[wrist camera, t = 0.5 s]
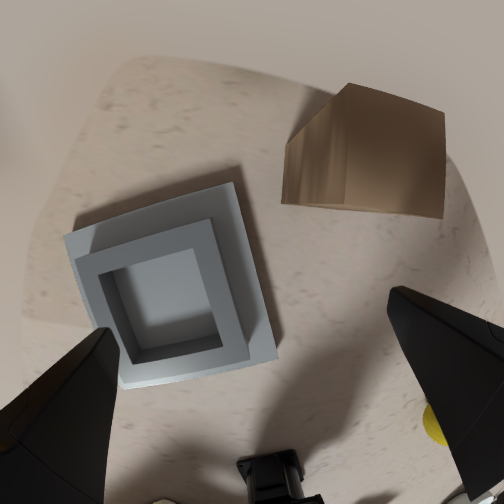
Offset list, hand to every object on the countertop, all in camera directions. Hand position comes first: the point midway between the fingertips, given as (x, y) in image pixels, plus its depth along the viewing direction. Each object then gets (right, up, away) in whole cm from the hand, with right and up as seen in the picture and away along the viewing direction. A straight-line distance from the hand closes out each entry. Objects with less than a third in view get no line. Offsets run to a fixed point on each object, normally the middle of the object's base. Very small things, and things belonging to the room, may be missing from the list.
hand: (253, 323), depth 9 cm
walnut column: (+5, +8, +14) cm, 16 cm away
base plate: (-6, -1, +14) cm, 16 cm away
